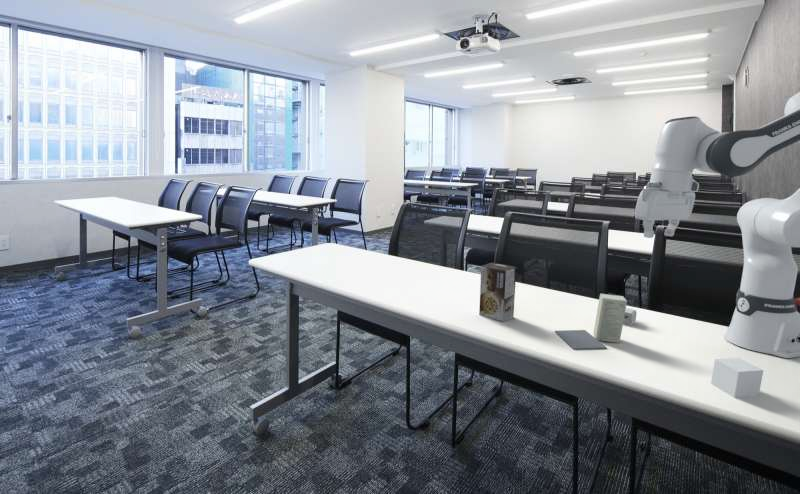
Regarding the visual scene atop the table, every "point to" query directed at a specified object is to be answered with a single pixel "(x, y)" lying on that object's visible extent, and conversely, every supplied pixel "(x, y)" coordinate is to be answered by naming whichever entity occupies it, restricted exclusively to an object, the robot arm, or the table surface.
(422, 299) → the table surface
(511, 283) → the coffee box
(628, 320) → the usb wall charger
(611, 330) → the skincare box
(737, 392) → the light grey cube
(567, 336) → the rubber mat
